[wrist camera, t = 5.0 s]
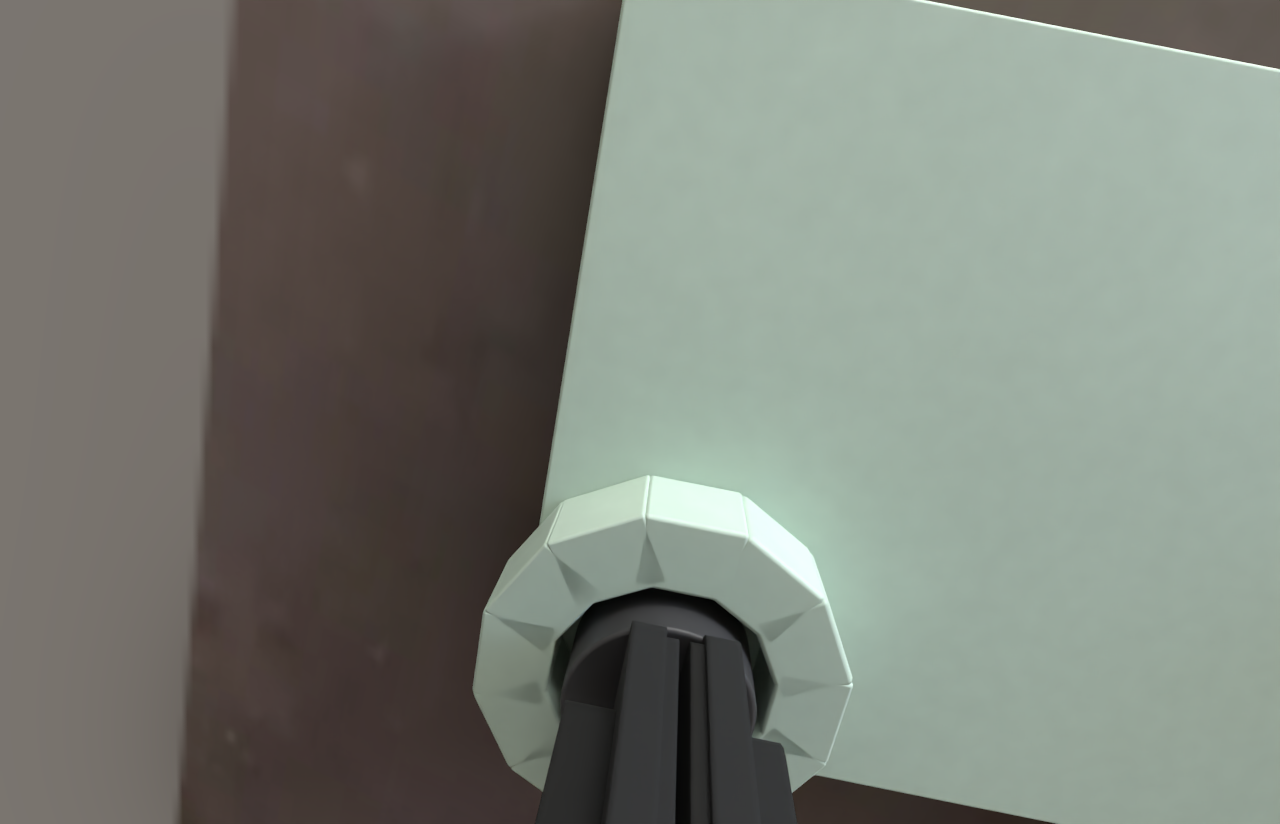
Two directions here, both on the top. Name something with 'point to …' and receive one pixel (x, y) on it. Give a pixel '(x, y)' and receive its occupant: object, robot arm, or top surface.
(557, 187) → the top surface
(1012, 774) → the scale
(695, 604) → the button
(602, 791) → the robot arm
